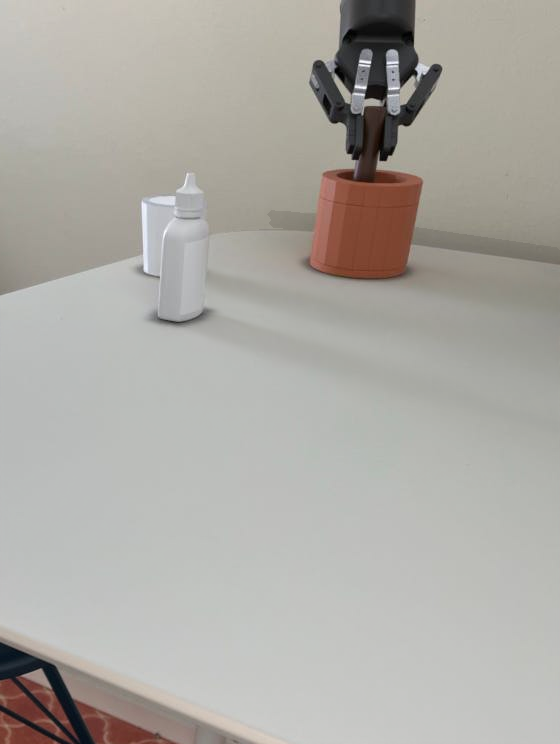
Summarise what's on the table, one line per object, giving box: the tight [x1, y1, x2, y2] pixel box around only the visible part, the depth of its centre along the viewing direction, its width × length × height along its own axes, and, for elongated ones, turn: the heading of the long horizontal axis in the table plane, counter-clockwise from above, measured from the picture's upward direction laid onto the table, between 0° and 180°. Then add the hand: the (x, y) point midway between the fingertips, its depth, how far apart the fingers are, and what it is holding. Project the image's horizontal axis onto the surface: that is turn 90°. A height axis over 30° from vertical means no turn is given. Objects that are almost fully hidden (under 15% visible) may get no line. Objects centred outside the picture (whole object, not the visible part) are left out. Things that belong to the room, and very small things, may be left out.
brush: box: [353, 105, 387, 183], centre depth 103 cm, size 5×5×13 cm
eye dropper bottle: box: [157, 172, 211, 323], centre depth 89 cm, size 4×6×12 cm
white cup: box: [141, 194, 208, 278], centre depth 103 cm, size 7×7×7 cm
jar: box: [309, 168, 424, 280], centre depth 106 cm, size 10×10×9 cm
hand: (371, 154), depth 100 cm, fingers closed on brush
